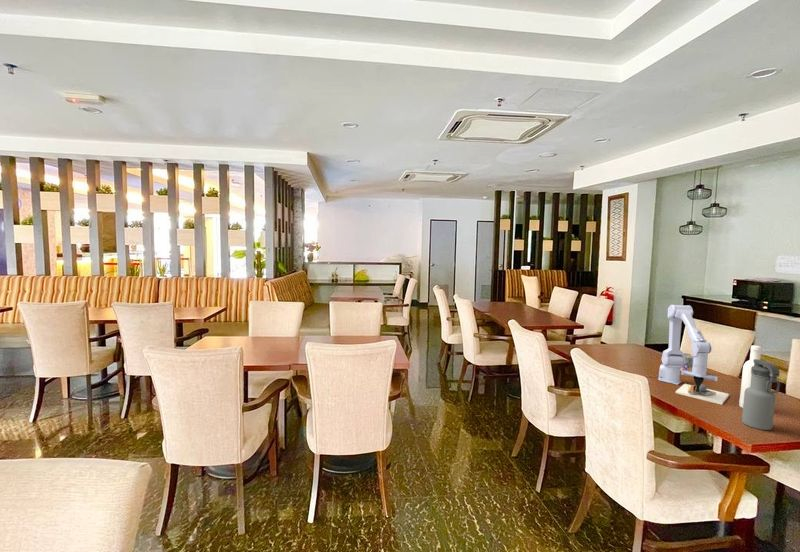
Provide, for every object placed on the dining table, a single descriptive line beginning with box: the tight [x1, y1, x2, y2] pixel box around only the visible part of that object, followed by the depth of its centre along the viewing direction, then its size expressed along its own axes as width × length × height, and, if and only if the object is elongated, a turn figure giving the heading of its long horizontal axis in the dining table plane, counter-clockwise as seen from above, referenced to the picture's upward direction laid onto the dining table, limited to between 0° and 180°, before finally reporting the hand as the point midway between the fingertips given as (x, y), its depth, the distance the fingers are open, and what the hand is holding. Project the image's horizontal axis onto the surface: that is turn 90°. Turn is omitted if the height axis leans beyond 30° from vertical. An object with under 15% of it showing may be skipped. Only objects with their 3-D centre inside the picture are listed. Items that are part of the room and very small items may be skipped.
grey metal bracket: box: [688, 384, 716, 396], centre depth 203 cm, size 13×8×4 cm, turn 111°
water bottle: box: [741, 359, 781, 431], centre depth 168 cm, size 10×10×28 cm
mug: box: [680, 352, 693, 373], centre depth 242 cm, size 12×9×11 cm
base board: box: [675, 383, 730, 406], centre depth 204 cm, size 19×18×5 cm
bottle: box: [738, 344, 765, 409], centre depth 187 cm, size 8×8×30 cm
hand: (697, 391), depth 200 cm, fingers closed, pressing on grey metal bracket
